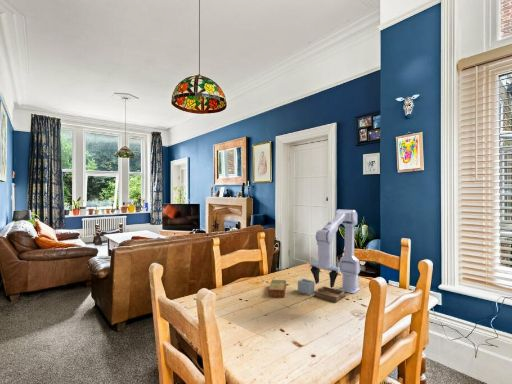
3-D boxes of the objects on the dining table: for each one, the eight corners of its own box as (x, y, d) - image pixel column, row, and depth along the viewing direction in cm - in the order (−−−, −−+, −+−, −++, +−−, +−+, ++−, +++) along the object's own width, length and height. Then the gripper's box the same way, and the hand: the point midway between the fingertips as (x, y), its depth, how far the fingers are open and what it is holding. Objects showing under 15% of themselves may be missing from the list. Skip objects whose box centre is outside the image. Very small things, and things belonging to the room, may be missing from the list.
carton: (268, 297, 139) (268, 289, 139) (271, 286, 154) (271, 279, 154) (284, 298, 137) (284, 289, 137) (286, 287, 153) (286, 279, 153)
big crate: (323, 290, 146) (323, 286, 146) (345, 296, 138) (345, 291, 138) (314, 296, 139) (314, 291, 139) (336, 302, 131) (336, 297, 131)
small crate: (303, 289, 149) (303, 278, 149) (314, 292, 144) (314, 281, 144) (297, 291, 145) (297, 280, 145) (309, 295, 140) (309, 283, 140)
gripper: (306, 254, 128) (306, 283, 128) (335, 260, 118) (335, 291, 118) (313, 252, 133) (314, 279, 133) (342, 257, 124) (342, 286, 124)
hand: (324, 285), depth 126 cm, fingers open, 7 cm apart
